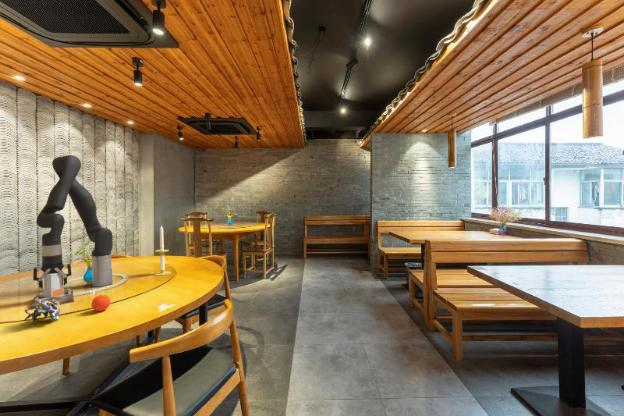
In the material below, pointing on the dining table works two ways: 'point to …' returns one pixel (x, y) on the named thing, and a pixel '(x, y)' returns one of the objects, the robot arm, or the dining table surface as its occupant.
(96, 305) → the clementine
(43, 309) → the passion flower
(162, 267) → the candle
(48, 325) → the dining table surface
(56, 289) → the skincare box
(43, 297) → the brown shallow box
